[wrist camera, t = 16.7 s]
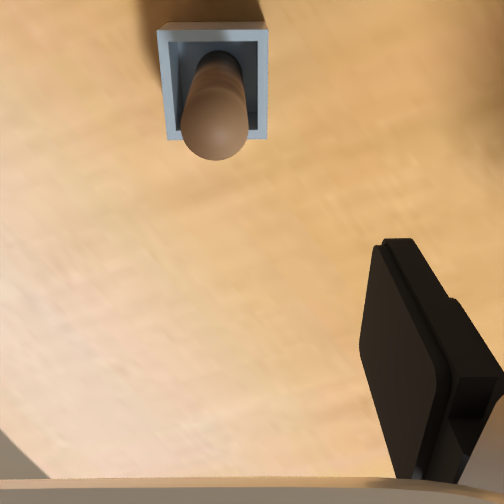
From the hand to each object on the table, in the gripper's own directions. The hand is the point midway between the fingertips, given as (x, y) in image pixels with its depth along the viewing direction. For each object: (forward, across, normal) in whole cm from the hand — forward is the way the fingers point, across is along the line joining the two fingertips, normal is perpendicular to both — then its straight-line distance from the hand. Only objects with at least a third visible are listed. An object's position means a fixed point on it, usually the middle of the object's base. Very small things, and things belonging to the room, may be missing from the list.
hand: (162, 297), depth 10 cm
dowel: (+26, 0, 0) cm, 26 cm away
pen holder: (+26, 0, 0) cm, 26 cm away
